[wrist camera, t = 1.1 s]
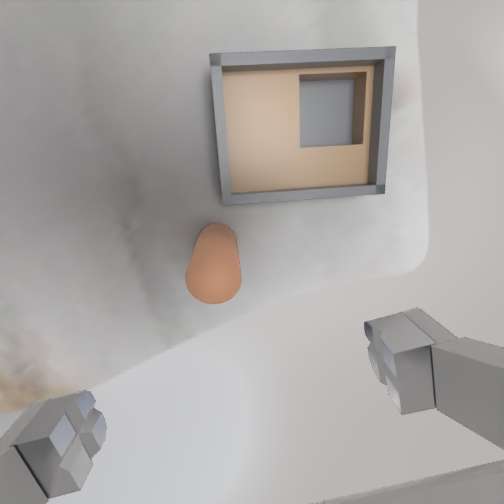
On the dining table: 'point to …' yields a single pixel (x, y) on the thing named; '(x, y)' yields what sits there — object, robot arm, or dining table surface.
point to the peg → (214, 265)
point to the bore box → (302, 123)
